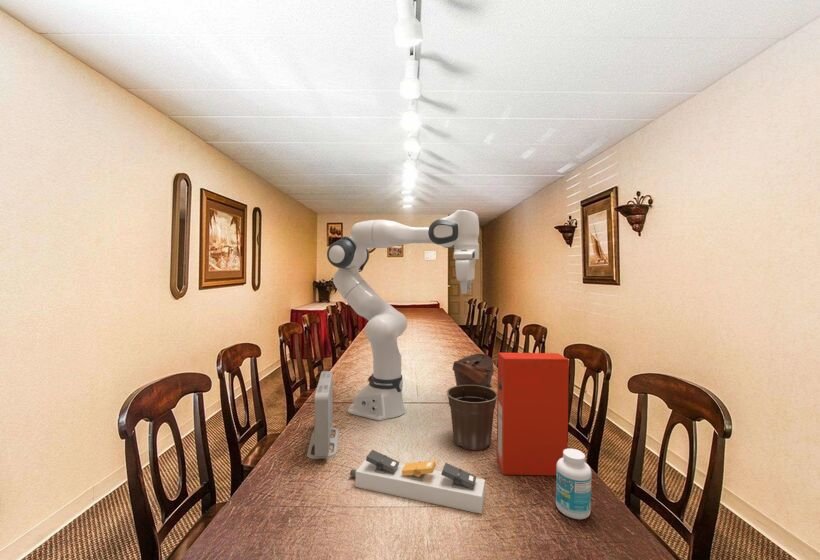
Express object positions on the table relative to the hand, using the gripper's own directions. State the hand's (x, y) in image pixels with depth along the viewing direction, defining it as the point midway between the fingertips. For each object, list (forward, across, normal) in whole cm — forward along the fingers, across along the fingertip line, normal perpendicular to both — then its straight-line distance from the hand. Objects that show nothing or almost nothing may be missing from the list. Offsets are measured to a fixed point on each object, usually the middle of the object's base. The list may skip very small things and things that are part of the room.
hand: (466, 292), depth 128 cm
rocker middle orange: (+42, +44, -5) cm, 61 cm away
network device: (+48, +30, -41) cm, 69 cm away
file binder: (+48, +24, +22) cm, 58 cm away
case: (+48, -26, -1) cm, 55 cm away
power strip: (+48, +44, -6) cm, 65 cm away
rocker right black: (+42, +44, +5) cm, 61 cm away
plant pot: (+48, +14, +4) cm, 50 cm away
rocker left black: (+42, +44, -15) cm, 62 cm away
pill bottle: (+48, +39, +32) cm, 69 cm away
